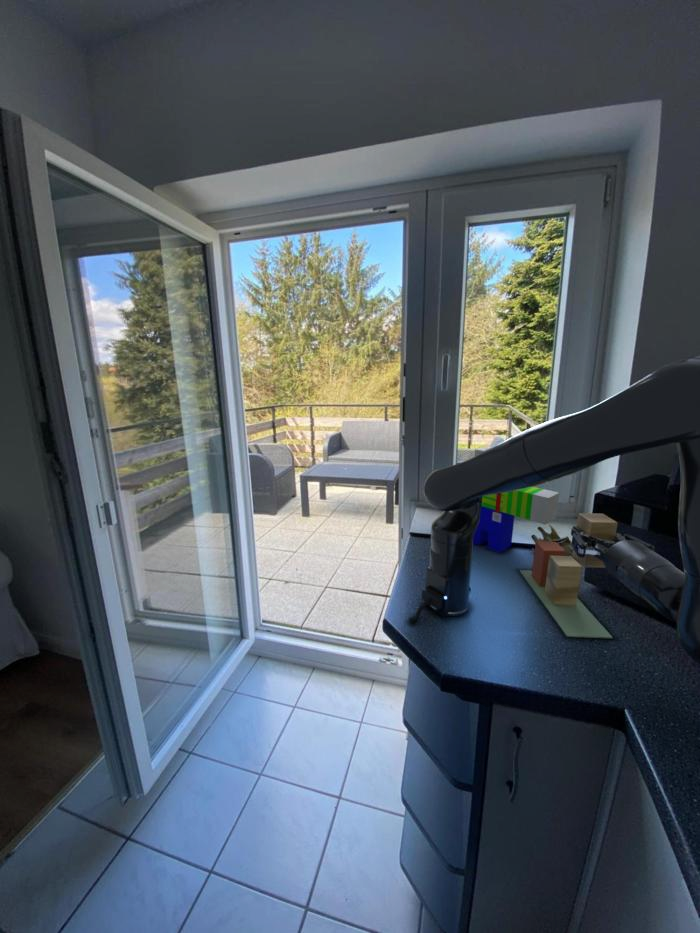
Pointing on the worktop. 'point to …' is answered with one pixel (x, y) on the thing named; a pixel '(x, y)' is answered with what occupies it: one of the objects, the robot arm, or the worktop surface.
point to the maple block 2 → (595, 526)
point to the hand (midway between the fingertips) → (587, 530)
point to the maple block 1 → (563, 580)
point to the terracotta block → (544, 560)
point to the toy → (512, 513)
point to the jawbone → (554, 540)
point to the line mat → (569, 614)
